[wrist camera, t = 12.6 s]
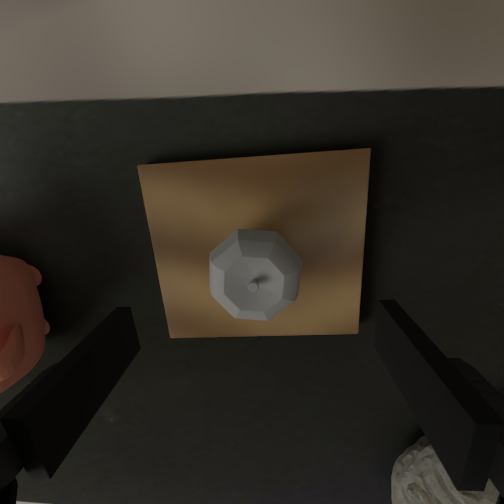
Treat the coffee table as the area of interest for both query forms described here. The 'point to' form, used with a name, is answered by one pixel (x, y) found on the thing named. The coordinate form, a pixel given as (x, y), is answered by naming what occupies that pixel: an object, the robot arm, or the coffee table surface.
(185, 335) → the board
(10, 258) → the teapot
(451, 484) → the decorative shell
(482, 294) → the coffee table surface
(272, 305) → the apple
